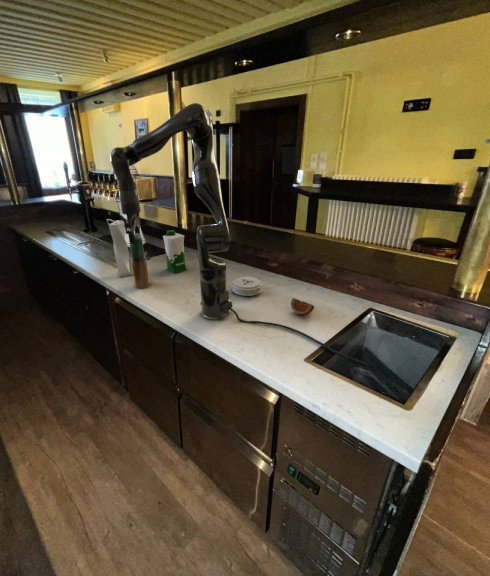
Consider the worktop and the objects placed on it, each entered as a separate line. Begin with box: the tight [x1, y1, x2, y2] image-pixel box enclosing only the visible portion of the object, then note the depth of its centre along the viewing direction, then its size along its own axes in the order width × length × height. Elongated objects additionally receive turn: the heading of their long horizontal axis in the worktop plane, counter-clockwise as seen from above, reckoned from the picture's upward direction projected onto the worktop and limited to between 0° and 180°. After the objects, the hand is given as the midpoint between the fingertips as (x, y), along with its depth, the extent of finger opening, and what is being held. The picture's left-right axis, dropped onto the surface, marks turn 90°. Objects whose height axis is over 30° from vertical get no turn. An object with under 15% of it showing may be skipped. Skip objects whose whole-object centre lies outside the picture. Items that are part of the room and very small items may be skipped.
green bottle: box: [129, 232, 145, 258], centre depth 130 cm, size 5×5×10 cm
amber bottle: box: [131, 255, 150, 289], centre depth 135 cm, size 6×6×14 cm
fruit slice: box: [290, 297, 315, 316], centre depth 109 cm, size 8×7×5 cm
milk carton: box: [162, 229, 187, 274], centre depth 150 cm, size 9×9×20 cm
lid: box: [231, 276, 263, 297], centre depth 127 cm, size 13×13×5 cm
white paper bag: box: [106, 218, 134, 278], centre depth 147 cm, size 8×8×28 cm
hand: (135, 240), depth 129 cm, fingers open, 8 cm apart
